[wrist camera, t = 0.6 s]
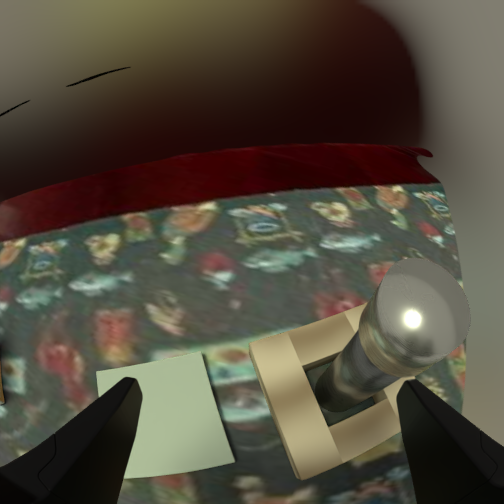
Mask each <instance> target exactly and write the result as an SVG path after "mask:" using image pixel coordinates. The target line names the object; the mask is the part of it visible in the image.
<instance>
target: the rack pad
mask: <svg viewBox="0 0 504 504" xmlns="http://www.w3.org/2000/svg"><path fill="white" fill-rule="evenodd" d="M96 374H97V384H98V392H99V397H100V396H101V395H103V394H104V393H105V392H106V391H108V390H109V389H110V388H111V387H112V386H114V385H115V384H116V383H117V382H119V381H120V380H121V379H122V378H124V377H132V378H136V379H137V380H138V383H139V385H140V388H141V391H142V394H143V400H142V405H141V410H140V416H139V421H138V427H137V432H136V437H135V441H134V444H133V447H132V451H131V454H130V458H129V461H128V464H127V468H126V471H125V475H124V478H140V477H152V476H162V475H170V474H177V473H184V472H190V471H196V470H201V469H206V468H211V467H216V466H221V465H225V464H229V463H233V462H235V459H234V456H233V453H232V450H231V448H230V445H229V442H228V439H227V436H226V433H225V430H224V427H223V424H222V421H221V417H220V414H219V411H218V408H217V405H216V401H215V398H214V395H213V391H212V388H211V385H210V381H209V378H208V374H207V370H206V367H205V363H204V360H203V356H202V353H201V351H199V352H195V353H190V354H186V355H182V356H177V357H173V358H168V359H163V360H159V361H154V362H149V363H144V364H138V365H133V366H128V367H122V368H116V369H110V370H104V371H97V372H96Z"/></svg>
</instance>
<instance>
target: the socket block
mask: <svg viewBox="0 0 504 504" xmlns="http://www.w3.org/2000/svg"><path fill="white" fill-rule="evenodd" d="M366 305H367V303H366V304H363V305H361V306H358V307H355V308H353V309H350V310H347V311H345V312H342V313H339V314H337V315H334V316H331V317H328V318H325V319H323V320H320V321H317V322H314V323H311V324H308V325H305V326H302V327H299V328H296V329H293V330H290V331H287V332H284V333H280V334H277V335H274V336H271V337H267V338H264V339H261V340H257V341H254V342H250V343H249V355H250V358H251V360H252V363H253V366H254V369H255V372H256V374H257V377H258V380H259V383H260V385H261V388H262V391H263V394H264V396H265V399H266V402H267V404H268V407H269V410H270V412H271V415H272V418H273V420H274V423H275V425H276V428H277V431H278V433H279V436H280V438H281V441H282V443H283V446H284V449H285V451H286V454H287V456H288V459H289V461H290V464H291V466H292V468H293V471H294V473H295V476H296V478H298V479H300V480H305V479H307V478H310V477H312V476H315V475H317V474H320V473H322V472H324V471H327V470H329V469H331V468H334V467H336V466H338V465H340V464H342V463H344V462H346V461H348V460H350V459H353V458H355V457H356V456H358V455H360V454H362V453H364V452H366V451H368V450H370V449H372V448H373V447H375V446H377V445H379V444H380V443H382V442H384V441H386V440H387V439H389V438H391V437H392V436H394V435H396V434H397V433H399V432H400V431H401V427H400V421H399V414H398V408H397V402H396V396H397V394H398V392H399V390H400V388H401V386H402V384H403V383H404V381H405V380H409V379H415V377H414V376H413V377H406V378H400V379H399V380H397V381H395V382H394V383H392V384H391V385H389V386H388V387H386V388H384V389H383V390H381V391H379V392H378V393H376V394H374V395H373V396H372V397H373V399H374V402H375V405H373V406H371V407H369V408H367V409H365V410H363V411H361V412H359V413H357V414H355V415H353V416H351V417H349V418H347V419H345V420H343V421H341V422H338V423H336V424H334V425H332V426H329V427H328V426H327V424H326V421H325V419H324V417H323V414H322V412H321V410H320V407H319V405H318V403H317V400H316V398H315V396H314V393H313V391H312V389H311V386H310V384H309V382H308V379H307V377H306V375H305V371H308V370H311V369H314V368H316V367H319V366H321V365H324V364H326V363H329V362H331V361H334V360H335V359H336V358H337V356H338V355H339V354H340V353H341V351H342V350H343V349H344V347H345V346H346V345H347V344H348V342H349V341H350V340H351V338H352V337H353V336H354V334H355V333H356V332H357V330H358V329H359V320H360V316H361V314H362V312H363V310H364V308H365V306H366Z"/></svg>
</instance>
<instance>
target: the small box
mask: <svg viewBox="0 0 504 504" xmlns="http://www.w3.org/2000/svg"><path fill="white" fill-rule="evenodd" d="M4 403H5V402H4V395H3V389H2V379H1V363H0V405H1V404H4Z"/></svg>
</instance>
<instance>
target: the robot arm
mask: <svg viewBox="0 0 504 504" xmlns="http://www.w3.org/2000/svg"><path fill="white" fill-rule="evenodd" d="M142 400H143V394H142V391H141V388H140V385H139V383H138V380H137V379H136V378H132V377H124V378H122V379H121V380H120V381H119V382H117V383H116V384H115V385H114V386H112V387H111V388H110V389H109V390H108V391H106V392H105V393H104V394H103V395H101V396H100V397H99V398H98V399H96V400H95V401H94V402H93V403H92V404H90V405H89V406H88V407H87V408H85V409H84V410H83V411H82V412H80V413H79V414H78V415H77V416H75V417H74V418H73V419H72V420H70V421H69V422H68V423H67V424H65V425H64V426H63V427H62V428H60V429H59V430H58V431H56V432H55V434H53V435H51V436H50V437H49V438H47V439H46V440H45V441H43V442H42V443H41V444H39V445H38V446H36V447H35V448H33V449H32V450H30V451H29V452H27V453H25V454H24V455H22V456H20V457H19V458H17V459H15V460H13V461H12V462H10V463H8V464H6V465H4V466H2V467H0V504H117V501H118V497H119V493H120V490H121V486H122V482H123V479H124V475H125V471H126V468H127V464H128V461H129V458H130V454H131V451H132V447H133V444H134V441H135V437H136V432H137V427H138V421H139V416H140V410H141V405H142ZM396 402H397V408H398V414H399V421H400V427H401V433H402V438H403V442H404V446H405V450H406V454H407V458H408V463H409V467H410V471H411V476H412V481H413V485H414V490H415V496H416V501H417V504H504V447H503V446H502V445H500V444H499V443H497V442H496V441H495V440H493V439H492V438H491V437H489V436H488V435H487V434H485V433H484V432H483V431H480V429H479V428H477V427H476V426H475V425H474V424H472V423H471V422H470V421H469V420H467V419H466V418H465V417H464V416H462V415H461V414H460V413H459V412H457V411H456V410H455V409H453V408H452V407H451V406H450V405H448V404H447V403H446V402H445V401H443V400H442V399H441V398H440V397H438V396H437V395H436V394H434V393H433V392H432V391H431V390H429V389H428V388H427V387H426V386H424V385H423V384H422V383H421V382H419V381H418V380H416V379H409V380H405V381H404V383H403V384H402V386H401V388H400V390H399V392H398V394H397V396H396Z"/></svg>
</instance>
